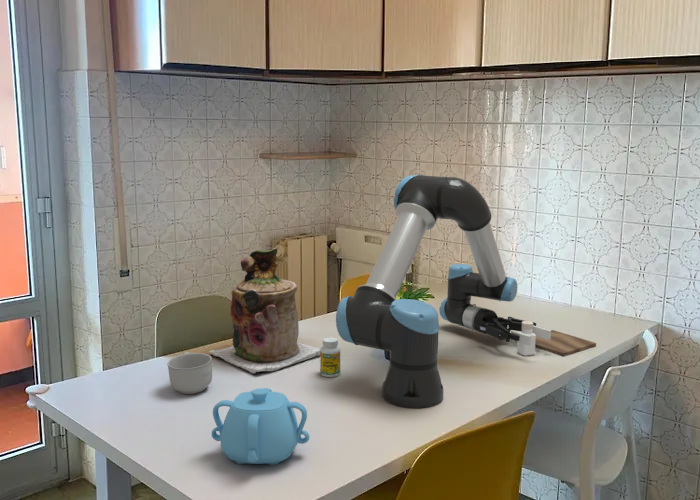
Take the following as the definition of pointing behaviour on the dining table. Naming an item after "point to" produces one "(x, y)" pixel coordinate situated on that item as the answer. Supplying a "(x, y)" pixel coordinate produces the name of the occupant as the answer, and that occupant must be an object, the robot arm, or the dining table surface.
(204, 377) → the teacup
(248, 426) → the decorative pot
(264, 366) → the cookie jar
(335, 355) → the supplement bottle
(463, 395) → the dining table surface
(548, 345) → the board
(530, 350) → the pepper shaker
